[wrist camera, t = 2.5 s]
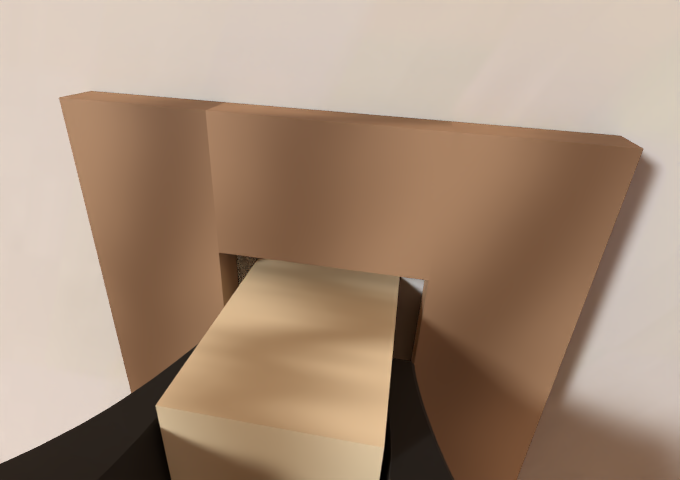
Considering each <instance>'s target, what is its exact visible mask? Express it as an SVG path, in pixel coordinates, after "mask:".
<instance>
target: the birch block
mask: <svg viewBox="0 0 680 480" xmlns="http://www.w3.org/2000/svg"><path fill="white" fill-rule="evenodd" d="M399 278H400V276H392V275H385V274H377V273H370V272H362V271H354V270H347V269H339V268H332V267H324V266H317V265H309V264H302V263H294V262H287V261H279V260H272V259H264V258H258V259H257V261H256V262H255V264H254V265H253V267H252V268H251V269H250V271H249V272H248V274H247V275H246V277H245V278H244V280H243V281H242V282H241V284H240V285H239V287H238V288H237V290H236V291H235V292H234V294H233V295H232V297H231V298H230V300H229V301H228V302H227V304H226V305H225V307H224V308H223V310H222V311H221V312H220V314H219V315H218V317H217V318H216V320H215V321H214V322H213V324H212V325H211V327H210V328H209V330H208V331H207V332H206V334H205V335H204V337H203V338H202V340H201V341H200V342H199V344H198V345H197V347H196V348H195V350H194V351H193V353H192V354H191V355H190V357H189V358H188V360H187V361H186V363H185V364H184V365H183V367H182V368H181V370H180V371H179V373H178V374H177V375H176V377H175V378H174V380H173V381H172V383H171V384H170V385H169V387H168V388H167V390H166V391H165V393H164V394H163V395H162V397H161V398H160V400H159V401H158V403H157V404H156V405H155V406H156V410H157V415H158V420H159V424H160V429H161V434H162V438H163V443H164V448H165V453H166V457H167V462H168V467H169V471H170V476H171V480H379V479H380V472H381V465H382V459H383V452H384V443H385V432H386V421H387V410H388V399H389V388H390V377H391V366H392V355H393V344H394V333H395V322H396V311H397V300H398V289H399Z"/></svg>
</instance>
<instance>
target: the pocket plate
mask: <svg viewBox="0 0 680 480" xmlns="http://www.w3.org/2000/svg"><path fill="white" fill-rule="evenodd" d="M59 99H60V103H61V107H62V112H63V116H64V120H65V124H66V128H67V132H68V136H69V140H70V144H71V148H72V152H73V156H74V161H75V165H76V169H77V173H78V177H79V181H80V185H81V189H82V193H83V197H84V201H85V205H86V210H87V214H88V218H89V222H90V226H91V230H92V234H93V238H94V242H95V246H96V250H97V255H98V259H99V263H100V267H101V271H102V275H103V279H104V283H105V287H106V291H107V295H108V299H109V304H110V308H111V312H112V316H113V320H114V324H115V328H116V332H117V336H118V340H119V344H120V348H121V353H122V357H123V361H124V365H125V369H126V373H127V377H128V381H129V385H130V389H131V393H133V392H134V391H136V390H137V389H138V388H140V387H141V386H143V385H144V384H146V383H147V382H149V381H150V380H151V379H153V378H154V377H155V376H157V375H158V374H159V373H161V372H162V371H163V370H165V369H166V368H167V367H169V366H170V365H171V364H173V363H174V362H175V361H177V360H178V359H179V358H181V357H182V356H183V355H184V354H186V353H187V352H188V351H190V350H191V349H192V348H193V347H195V346H196V345H197V344H198V343H199V342H200V341H201V340H202V338H203V337H204V335H205V334H206V332H207V331H208V330H209V328H210V327H211V325H212V324H213V322H214V321H215V320H216V318H217V317H218V315H219V314H220V312H221V311H222V310H223V308H224V307H225V305H226V304H227V302H228V301H229V300H230V298H231V297H232V295H233V294H234V292H235V291H236V290H237V288H238V287H239V285H238V271H237V257H236V255H241V256H249V257H256V258H264V259H272V260H279V261H287V262H294V263H302V264H309V265H317V266H324V267H332V268H339V269H347V270H354V271H362V272H370V273H377V274H385V275H392V276H400V277H407V278H415V279H422V280H425V281H424V287H423V293H422V299H421V305H420V311H419V317H418V323H417V329H416V335H415V341H414V347H413V353H412V359H411V362H412V363H413V364H414V365H415V372H416V378H417V382H418V386H419V390H420V394H421V397H422V400H423V404H424V407H425V410H426V413H427V416H428V418H429V421H430V424H431V427H432V429H433V432H434V435H435V437H436V440H437V442H438V445H439V447H440V449H441V452H442V454H443V456H444V459H445V461H446V463H447V465H448V467H449V470H450V472H451V474H452V476H453V478H454V480H517V477H518V474H519V472H520V469H521V467H522V464H523V461H524V459H525V456H526V454H527V451H528V448H529V446H530V443H531V441H532V438H533V435H534V433H535V430H536V428H537V425H538V422H539V420H540V417H541V415H542V412H543V409H544V407H545V404H546V401H547V399H548V396H549V394H550V391H551V388H552V386H553V383H554V381H555V378H556V375H557V373H558V370H559V368H560V365H561V362H562V360H563V357H564V355H565V352H566V349H567V347H568V344H569V342H570V339H571V336H572V334H573V331H574V329H575V326H576V323H577V321H578V318H579V315H580V313H581V310H582V308H583V305H584V302H585V300H586V297H587V295H588V292H589V289H590V287H591V284H592V282H593V279H594V276H595V274H596V271H597V269H598V266H599V263H600V261H601V258H602V256H603V253H604V250H605V248H606V245H607V242H608V240H609V237H610V235H611V232H612V229H613V227H614V224H615V222H616V219H617V216H618V214H619V211H620V209H621V206H622V203H623V201H624V198H625V196H626V193H627V190H628V188H629V185H630V183H631V180H632V177H633V175H634V172H635V169H636V167H637V164H638V162H639V159H640V156H641V154H642V151H643V148H641V147H639V146H638V145H636V144H634V143H632V142H631V141H629V140H627V139H625V138H624V137H622V136H616V135H605V134H593V133H581V132H569V131H557V130H545V129H534V128H522V127H510V126H498V125H486V124H474V123H463V122H451V121H439V120H427V119H415V118H403V117H392V116H380V115H368V114H356V113H344V112H332V111H321V110H309V109H297V108H285V107H273V106H261V105H249V104H238V103H226V102H214V101H202V100H190V99H178V98H167V97H155V96H143V95H131V94H119V93H107V92H96V91H89V92H84V93H79V94H74V95H69V96H65V97H60V98H59Z"/></svg>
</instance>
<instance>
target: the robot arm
mask: <svg viewBox="0 0 680 480" xmlns="http://www.w3.org/2000/svg"><path fill="white" fill-rule="evenodd" d="M198 344H199V343H198ZM198 344H197V345H198ZM197 345H196V346H195V347H193V348H192V349H191V350H190V351H188V352H187V353H186V354H184V355H183V356H182V357H181V358H179V359H178V360H177V361H175V362H174V363H173V364H171V365H170V366H169V367H167V368H166V369H165V370H163V371H162V372H161V373H159V374H158V375H157V376H155V377H154V378H153V379H151V380H150V381H149V382H147V383H146V384H144V385H143V386H141V387H140V388H138V389H137V390H136V391H134V392H133V393H131V394H130V395H128V396H127V397H125V398H124V399H122V400H121V401H119V402H118V403H116V404H115V405H113V406H111V407H110V408H108V409H107V410H105V411H103V412H101V413H100V414H98V415H96V416H95V417H93V418H91V419H89V420H88V421H86V422H84V423H82V424H81V425H79V426H77V427H75V428H73V429H71V430H69V431H67V432H65V433H63V434H62V435H60V436H58V437H56V438H54V439H52V440H50V441H48V442H46V443H44V444H42V445H40V446H38V447H36V448H34V449H32V450H30V451H28V452H25V453H23V454H21V455H19V456H17V457H15V458H12V459H10V460H8V461H6V462H3V463H1V464H0V480H171V476H170V471H169V467H168V462H167V457H166V453H165V448H164V443H163V438H162V434H161V429H160V424H159V420H158V415H157V410H156V406H155V405H156V404H157V403H158V401H159V400H160V398H161V397H162V395H163V394H164V393H165V391H166V390H167V388H168V387H169V385H170V384H171V383H172V381H173V380H174V378H175V377H176V375H177V374H178V373H179V371H180V370H181V368H182V367H183V365H184V364H185V363H186V361H187V360H188V358H189V357H190V355H191V354H192V353H193V351H194V350H195V348H196V347H197ZM379 480H454V478H453V476H452V474H451V472H450V470H449V467H448V465H447V463H446V461H445V459H444V456H443V454H442V452H441V449H440V447H439V445H438V442H437V440H436V437H435V435H434V432H433V429H432V427H431V424H430V421H429V418H428V416H427V413H426V410H425V407H424V404H423V400H422V397H421V394H420V390H419V386H418V382H417V378H416V372H415V365H414V364H413V363H412V362H411V361H406V360H400V359H393V358H392V366H391V377H390V388H389V399H388V410H387V421H386V432H385V443H384V452H383V459H382V465H381V472H380V479H379Z"/></svg>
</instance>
